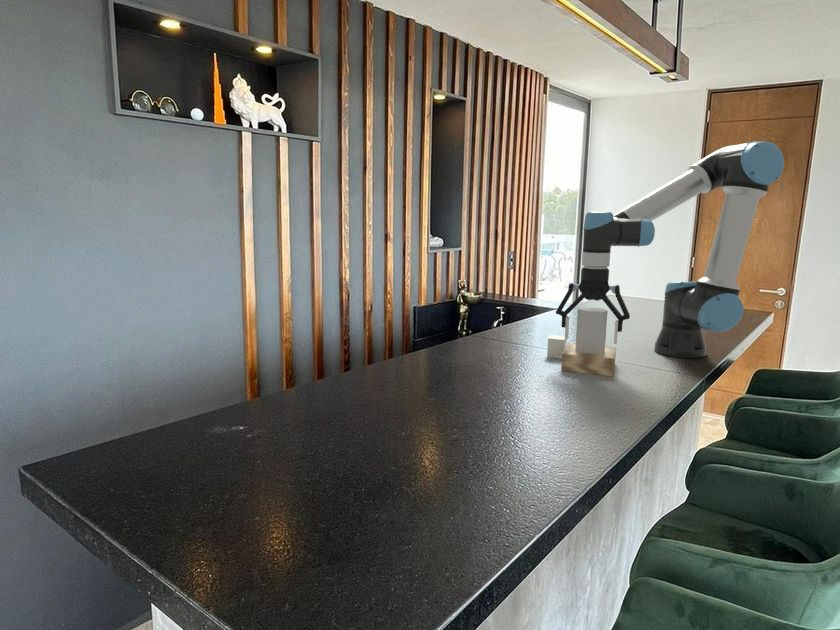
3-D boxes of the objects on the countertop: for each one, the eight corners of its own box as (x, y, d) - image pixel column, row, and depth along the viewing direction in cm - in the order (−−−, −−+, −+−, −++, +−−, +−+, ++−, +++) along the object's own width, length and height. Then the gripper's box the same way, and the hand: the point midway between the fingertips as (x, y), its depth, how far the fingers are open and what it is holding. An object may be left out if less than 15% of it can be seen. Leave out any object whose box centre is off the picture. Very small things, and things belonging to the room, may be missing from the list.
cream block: (565, 355, 183) (566, 336, 182) (563, 358, 178) (564, 339, 177) (549, 353, 185) (550, 335, 184) (547, 357, 180) (548, 338, 179)
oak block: (614, 363, 173) (616, 347, 172) (613, 376, 160) (614, 358, 159) (566, 358, 178) (567, 343, 177) (561, 370, 165) (562, 353, 164)
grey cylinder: (601, 347, 172) (604, 307, 170) (607, 354, 164) (610, 312, 162) (573, 346, 173) (575, 306, 170) (578, 353, 165) (580, 311, 162)
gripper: (642, 267, 163) (636, 341, 167) (552, 264, 171) (548, 334, 175) (642, 270, 156) (636, 347, 160) (548, 266, 164) (544, 339, 168)
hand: (590, 340), depth 168 cm, fingers open, 13 cm apart
